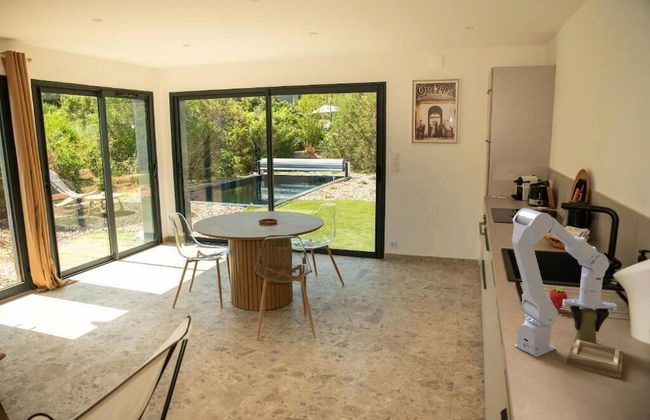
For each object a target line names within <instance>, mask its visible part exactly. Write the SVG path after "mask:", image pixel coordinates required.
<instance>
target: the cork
mask: <svg viewBox="0 0 650 420" xmlns="http://www.w3.org/2000/svg"><path fill="white" fill-rule="evenodd" d="M580 311H581V312H582V313H581V317H580V326H579V330H576V333H575V336H574V341H576V340H581V341H586V342H590V343H595V344H597V332H596V327H595V320H597V318H598V314H597V312H596V311H595V309H592V308H580Z"/></svg>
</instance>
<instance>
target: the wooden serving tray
mask: <svg viewBox="0 0 650 420" xmlns="http://www.w3.org/2000/svg"><path fill="white" fill-rule="evenodd" d="M623 358H624V351H621V350H620V349H619V348H616V347H612V346H608V345H602V344H599V343H596V344H595V343H590V342H586V341H581V340H576V341H575V339H573V340H572V343H571V346H570V348H569V352H568V355H567V360H566V365H567V366H571V367H574V368H579V369H583V370H586V371H590V372H594V373H598V374H602V375H607V376H609V377H613V376H614V377H613V378H617V377H618V379H620V378H621V377H622V371H623V370H622V369H623V360H624V359H623Z"/></svg>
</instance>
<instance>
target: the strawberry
mask: <svg viewBox="0 0 650 420" xmlns="http://www.w3.org/2000/svg"><path fill="white" fill-rule="evenodd" d="M549 289H550V291H549V294H548V297H549V298H550V299H551V301H552V304H553V306H554V307H555V308H556V309H557V311H559V310H561V308H563V307H564V306H563V299H568V294H567V292H566V289H565V288H560V286H558V287H557V288H555V287H550V288H549Z"/></svg>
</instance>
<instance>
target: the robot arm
mask: <svg viewBox="0 0 650 420" xmlns="http://www.w3.org/2000/svg"><path fill="white" fill-rule="evenodd" d="M512 223H513V231H512V238H511V244H512V249H513V253H514V256H515V260H516V264H517V267H518V270H519V275H520V279H521V281H522V285H523V289H524V293H522V294H521V298H522V301H521V309H522V311H523V312H524V317H525V319H524V322H523V323H522V324H521V325H519V326H518V330H517V341H516V343H515V344H514V347H515V348H517V349H519V350H522V351H523V352H526V353H528V354H530V355H532V356H534V357H536V358H538V357H540V356H542V355H545V354H547V353H550V352H552V351H555V350H556V349H557V348H556V346H553V345H552V344H551V336H552V335H551V334H552V326H553V324H554V323H556V321H557V319H558V317H559V310H557V309H556V308H555V306H554V305H553V303H552V301H551V299H550V296H549V294H547V293H546V291H545V290H546V289H545V287H544V283H543V282H544V281H543V279H542V276H541V275H542V274H541V271H540V268H539V263H538V260H537V257H536V251H535V249H534V245H535V244H537V243H538V242H539V241H540V240H541V239H542V238H544V237H545V236H546V235H547V234H550V235H551V236H553V237H554V238H555V239H557V240H559V242H561V243H562V244H564V249H565V251H566V252H567V253H568V254H569V255H570V256H572V257H573V258H574V259H575V260H577V263H578V265H579V266H582V267H581V275H580V286H579V296H578V297H579V298H567V299H563V306H562V307H564V308H568V307H569V309H570V312H571V314H572V317H573V321H574V329H575V330H576V331H577V330H579V326H580V317H581V313H582V312H581V311H580V309H581V308H591V309H594V310H595V311H596V312H597V314H598V318H597V320H595V327H596V333H599V332H600V329H601V327H602V325H603V323H604V322H605V320H606V319H607V318H608V317H609V316H610V312H609V311H612V312H617V308H618V307H617V304H616V303H615V302H608V301H602V300H601V298H602V289H603V280H604V279H603V278H604V276H605V275H606V271H607V270H608V268H609V266H610V264H611V263H610V262H609V260H608V257H607V256H606V255H605V254H603V253H600V252H598V251H597V250H598V249H597V248H596V247H595V246H592V245H590V244H589V243H588V239H587V238H586V237H583V236H573V234H571V233H570V232H569V231H568V230H567V229H566V228H565V227H564V226H563V225H562V224H560V223H559V221H558V220H557V219H556V218H554V217H552V216H551V215H550V214H549V213H546V212H541V211H537V210H535V209H531V208H529V207H523V208H521V209H519V210H518V211H517V212H516V214H515V215H514V217H512Z"/></svg>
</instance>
